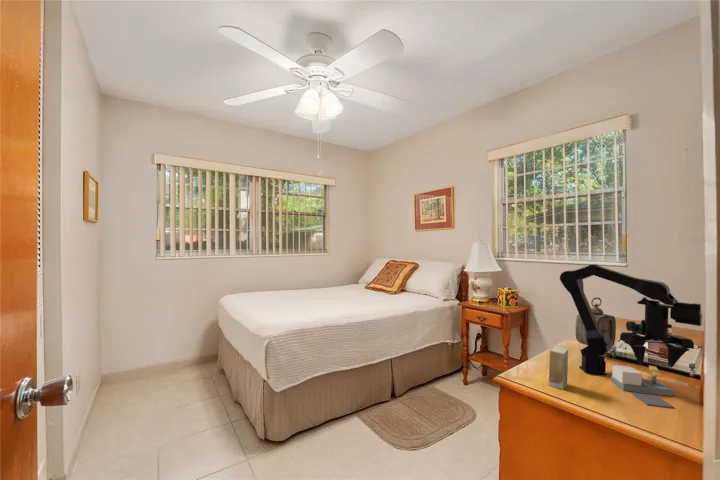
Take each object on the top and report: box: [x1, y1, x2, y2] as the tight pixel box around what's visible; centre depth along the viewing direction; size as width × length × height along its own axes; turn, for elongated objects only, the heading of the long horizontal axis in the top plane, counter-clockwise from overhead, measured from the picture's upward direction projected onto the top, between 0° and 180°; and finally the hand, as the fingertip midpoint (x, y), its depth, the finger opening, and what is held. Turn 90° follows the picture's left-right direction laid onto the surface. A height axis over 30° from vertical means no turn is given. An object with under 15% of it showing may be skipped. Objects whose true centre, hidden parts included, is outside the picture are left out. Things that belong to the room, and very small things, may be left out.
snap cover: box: [611, 365, 643, 385], centre depth 105 cm, size 6×6×4 cm
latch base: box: [610, 375, 674, 397], centre depth 105 cm, size 14×7×2 cm, turn 78°
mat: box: [631, 392, 675, 409], centre depth 96 cm, size 7×7×1 cm
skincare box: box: [548, 346, 569, 390], centre depth 105 cm, size 6×4×12 cm
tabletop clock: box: [575, 297, 617, 347], centre depth 138 cm, size 14×9×25 cm, turn 114°
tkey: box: [648, 364, 662, 384], centre depth 103 cm, size 8×2×5 cm, turn 144°
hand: (655, 365), depth 104 cm, fingers open, 9 cm apart
